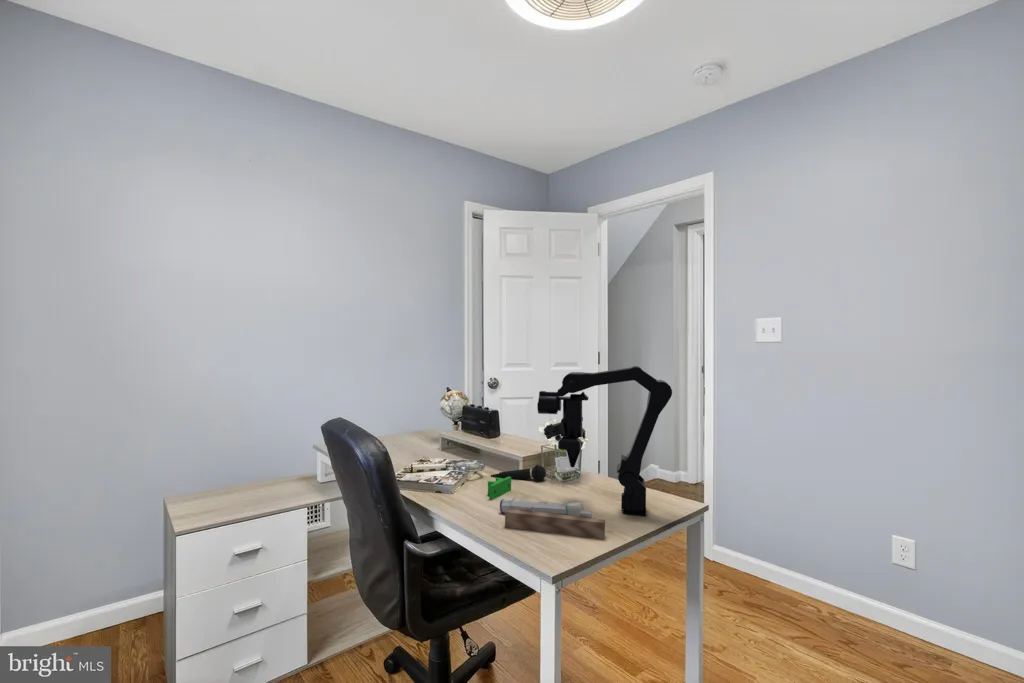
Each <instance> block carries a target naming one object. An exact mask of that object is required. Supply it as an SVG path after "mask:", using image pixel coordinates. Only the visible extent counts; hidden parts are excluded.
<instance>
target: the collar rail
mask: <svg viewBox="0 0 1024 683" xmlns="http://www.w3.org/2000/svg"><path fill="white" fill-rule="evenodd" d="M504 527H505V528H509V529H510V528H513V529H521V530H527V531H528V530H529V531H535V532H546V533H553V534H560V535H569V536H577V537H586V538H595V539H602V540H604V539H605V535H606V519H604V518H593V511H586V510H583V511H580V517H577V516H568V515H559V514H550V513H541V512H532V506H531V505H521V506H520V510H514V509H507V510H506V511H505V513H504Z"/></svg>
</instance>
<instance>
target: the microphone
mask: <svg viewBox="0 0 1024 683" xmlns="http://www.w3.org/2000/svg"><path fill="white" fill-rule="evenodd" d="M546 476H547V471H546V468H545V467H544V466H542V465H539V464H536V465H534V467H533V468H531V467H530V468H523V469H516V470H515V469H513V470H507V471H501V472H500V471H499V473H495V474H490V477H491V478H502V479H504V478H506V477H511V480H512V479H520V480H526V479H527V480H529V479H531V480H532V479H533V480H535V481H536V482H540V481H543V480H544V479H545V478H546Z"/></svg>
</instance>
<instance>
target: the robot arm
mask: <svg viewBox="0 0 1024 683" xmlns="http://www.w3.org/2000/svg"><path fill="white" fill-rule="evenodd" d="M631 381H634V382H637V384H639V385H641V386H642V387H643V388H645V390H647V391H648V396H647V402H646V408H645V411H644V414H643V416H642V419H641V422H640V424H639V426H638V429H637V432H636V435H635V437H634V440H633V442H632V445H631V447H630V450H629V451H628V453H627V454H626V455H624V454H621V455H620V460H619V463H618V464H617V465H616V473H617V479H618V482H619V484H620V485H621V486H622V487H624V488H623V492H622V493H621V506H620V507H621V510H622V514H624V515H631V516H632V515H633V516H642V517H643V516H644V517H646V516H647V486H646V481H645V480H646V479H644V477H642V476H641V475H640V474H641V467H642V462H643V458H644V455H645V453H646V449H647V447H648V444H649V442H650V439H651V436H652V434H653V431H654V430H655V425H656V423H657V421H658V419H659V416H660V415H661V413H662V412H663V410H664V409H665V407H667V404H668V403H669V402H670V399H671V398H672V396H673V389H672V387H671V385H670V384H669V383H667V381H665V380H662V379H656V378H655V377H654V376H652V375H650V374H648V373H647V372H646V371H644V370H643V369H642V368H641V367H640V366H638V365H633V366H629V367H623V368H618V369H617V368H616V369H612V370H603V371H597V372H582V371H578V372H577V371H575V372H574V371H572V372H568V373H567V374H566V375H565V376H564V377H563V378H562V381H561V387H560V388H558V389H557V391H545V390H540V391H539V393H538V401H537V413H538V415H539V414H541V415H542V414H543V415H558V414H559V413H558V412H561V411H562V419H561V420H560V421H559V422H556V423H550V424H548V425H546V426H545V427H544V428H543V431H544V433H543V435H545V437H546V440H549V439H552V438H554V437H558V436H560V437H561V438H560V439H559V441H558V442H557V447H558V448H557V449H558V450H565V451H566V454H567V457H568V461H569V462H568V463H569V466H570V468H575V466H576V464H577V461H578V458H579V456H580V453H581V450H582V448H583V444H584V441H582V439H586V429H585V428H583V421H584V418H583V401H589V396H588V395H587V394H586V392H585V391H584V390H587V389H589V388H593V387H597V386H603V385H609V384H616V383H624V382H631ZM578 392H581V393H578ZM569 393H570V396H566V395H568V394H569ZM581 438H582V439H581Z"/></svg>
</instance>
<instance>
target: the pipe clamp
mask: <svg viewBox="0 0 1024 683" xmlns="http://www.w3.org/2000/svg"><path fill="white" fill-rule="evenodd" d="M511 491H512V479H511V477H506V478H499V477H495V480H494V481H491V480H489V481H487V496H489V500H491V501H493V500H495V499H497V498H499V497H501V496H503V495H504V494H505V495H506V493H508V492H511Z"/></svg>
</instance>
